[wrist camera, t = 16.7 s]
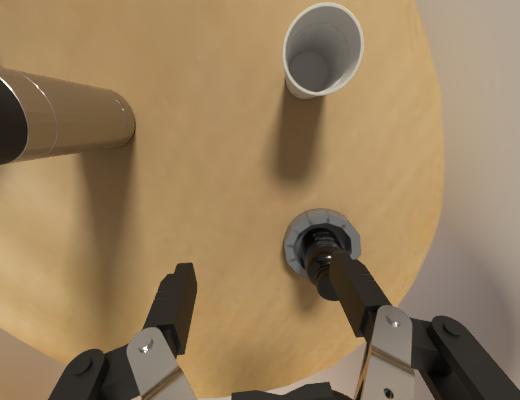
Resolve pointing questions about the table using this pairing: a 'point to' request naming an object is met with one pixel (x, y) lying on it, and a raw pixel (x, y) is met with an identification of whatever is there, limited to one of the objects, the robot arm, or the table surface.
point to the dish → (315, 220)
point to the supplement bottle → (320, 259)
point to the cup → (322, 50)
